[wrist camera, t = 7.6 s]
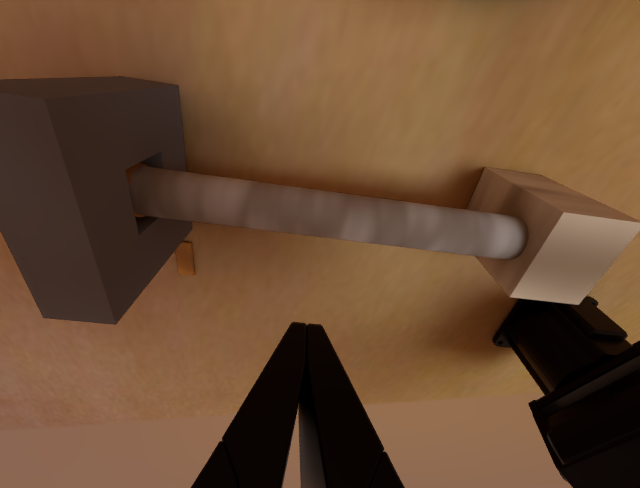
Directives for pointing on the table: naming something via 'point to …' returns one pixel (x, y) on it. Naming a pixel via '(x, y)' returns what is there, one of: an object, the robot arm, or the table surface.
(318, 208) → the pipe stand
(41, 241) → the square block with hole
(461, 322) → the table surface
